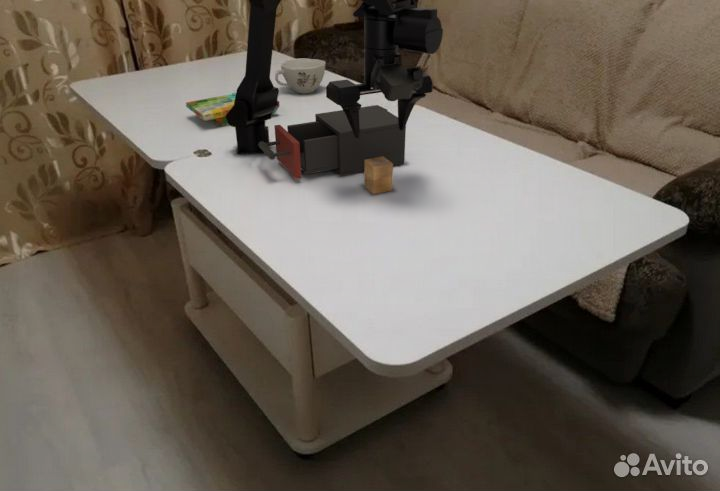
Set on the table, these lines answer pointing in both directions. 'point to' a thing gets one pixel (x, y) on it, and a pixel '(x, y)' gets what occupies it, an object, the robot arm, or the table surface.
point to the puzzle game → (215, 108)
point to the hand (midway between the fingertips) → (379, 133)
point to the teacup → (302, 74)
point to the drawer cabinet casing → (366, 138)
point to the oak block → (378, 175)
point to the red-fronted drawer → (304, 148)
